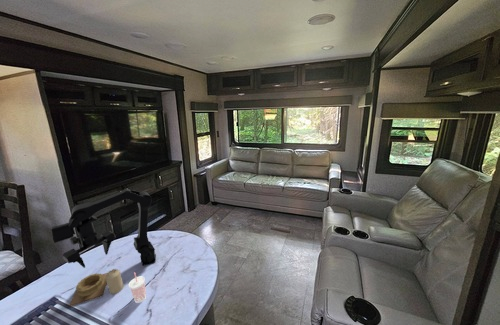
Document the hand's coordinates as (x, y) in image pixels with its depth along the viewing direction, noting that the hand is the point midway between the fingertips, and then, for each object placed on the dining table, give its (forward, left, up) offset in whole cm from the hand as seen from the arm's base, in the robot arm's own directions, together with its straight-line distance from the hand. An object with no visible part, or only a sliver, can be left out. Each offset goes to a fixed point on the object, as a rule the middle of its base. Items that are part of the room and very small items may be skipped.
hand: (95, 260), depth 94 cm
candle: (-7, +7, -13) cm, 17 cm away
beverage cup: (-18, +17, -13) cm, 28 cm away
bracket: (+4, +2, -13) cm, 14 cm away
